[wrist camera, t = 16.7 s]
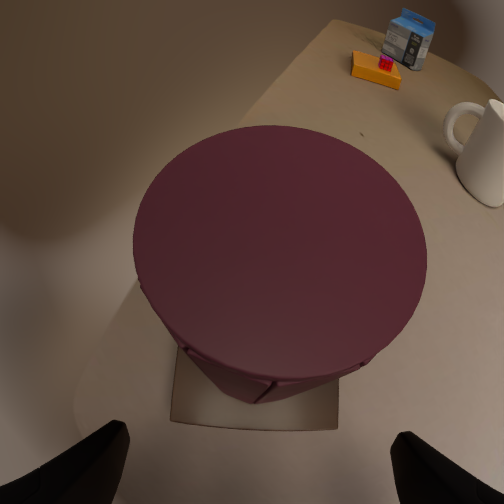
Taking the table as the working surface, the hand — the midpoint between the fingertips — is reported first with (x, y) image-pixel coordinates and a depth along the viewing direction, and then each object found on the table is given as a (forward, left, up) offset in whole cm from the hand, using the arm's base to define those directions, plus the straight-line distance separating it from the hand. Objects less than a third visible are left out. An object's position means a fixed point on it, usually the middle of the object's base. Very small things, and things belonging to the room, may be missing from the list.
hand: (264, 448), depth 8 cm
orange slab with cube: (+52, -2, -10) cm, 53 cm away
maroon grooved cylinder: (+5, +2, -8) cm, 10 cm away
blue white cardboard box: (+67, -9, -10) cm, 68 cm away
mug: (+32, -17, -10) cm, 37 cm away
